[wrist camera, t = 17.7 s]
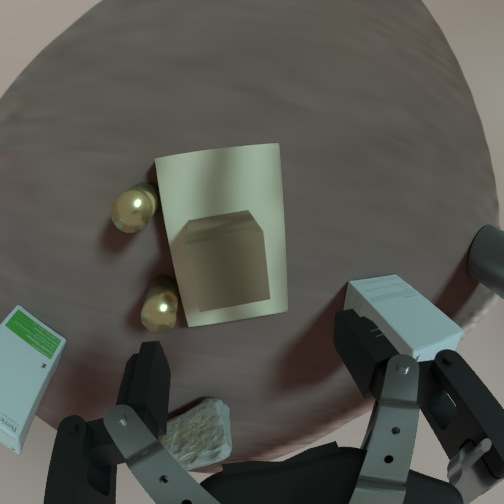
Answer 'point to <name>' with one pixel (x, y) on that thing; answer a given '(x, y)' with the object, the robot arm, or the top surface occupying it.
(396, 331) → the supplement box
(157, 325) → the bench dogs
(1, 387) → the skincare box
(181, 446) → the stone
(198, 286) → the walnut block
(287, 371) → the top surface
